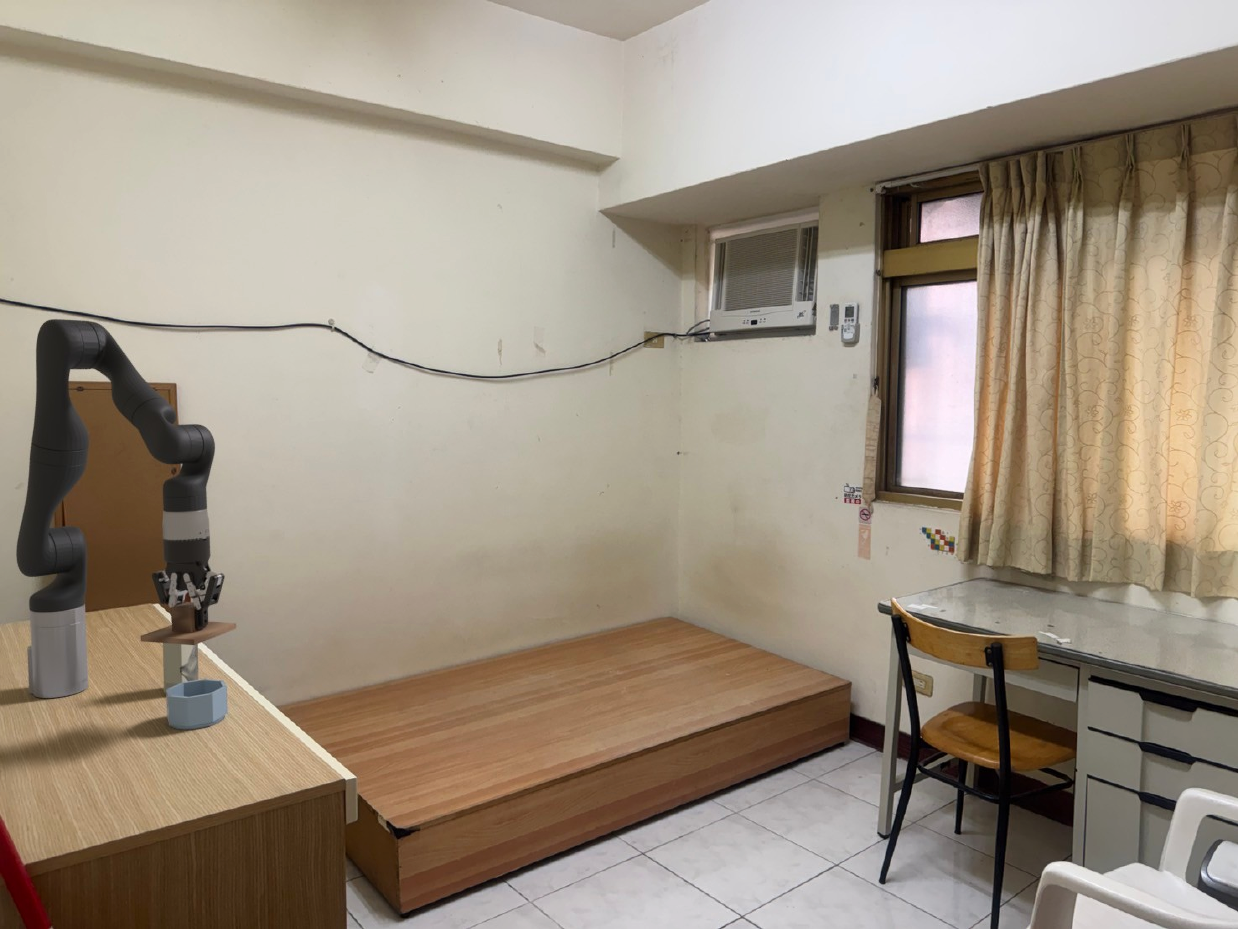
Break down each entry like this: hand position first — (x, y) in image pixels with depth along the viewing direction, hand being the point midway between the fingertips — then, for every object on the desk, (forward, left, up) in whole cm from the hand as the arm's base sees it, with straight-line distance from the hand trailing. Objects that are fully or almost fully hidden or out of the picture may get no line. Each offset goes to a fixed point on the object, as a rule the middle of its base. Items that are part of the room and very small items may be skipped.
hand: (190, 627), depth 151 cm
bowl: (0, +1, -18) cm, 18 cm away
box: (-14, +14, -18) cm, 26 cm away
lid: (0, 0, -1) cm, 1 cm away
